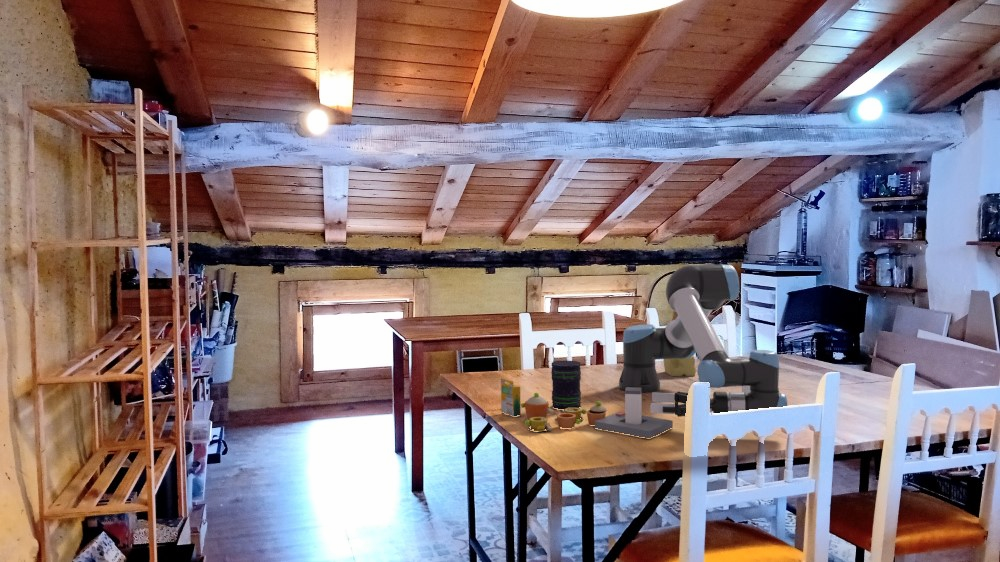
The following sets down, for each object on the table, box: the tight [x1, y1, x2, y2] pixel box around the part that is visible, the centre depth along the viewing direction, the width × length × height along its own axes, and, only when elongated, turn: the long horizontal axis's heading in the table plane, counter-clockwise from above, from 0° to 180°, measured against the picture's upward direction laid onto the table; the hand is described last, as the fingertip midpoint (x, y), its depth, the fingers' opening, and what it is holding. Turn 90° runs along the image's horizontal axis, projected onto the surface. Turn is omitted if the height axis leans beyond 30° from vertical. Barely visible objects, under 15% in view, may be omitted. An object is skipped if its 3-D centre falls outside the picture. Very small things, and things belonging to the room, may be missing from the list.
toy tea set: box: [520, 392, 608, 431], centre depth 209 cm, size 26×16×10 cm, turn 102°
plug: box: [624, 387, 643, 425], centre depth 201 cm, size 4×4×12 cm
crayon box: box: [500, 377, 522, 416], centre depth 221 cm, size 7×3×12 cm, turn 32°
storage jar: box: [550, 360, 582, 409], centre depth 229 cm, size 10×10×15 cm
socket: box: [594, 411, 674, 438], centre depth 202 cm, size 18×14×3 cm
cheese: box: [663, 354, 697, 377], centre depth 281 cm, size 10×11×10 cm
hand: (651, 402), depth 200 cm, fingers open, 13 cm apart
